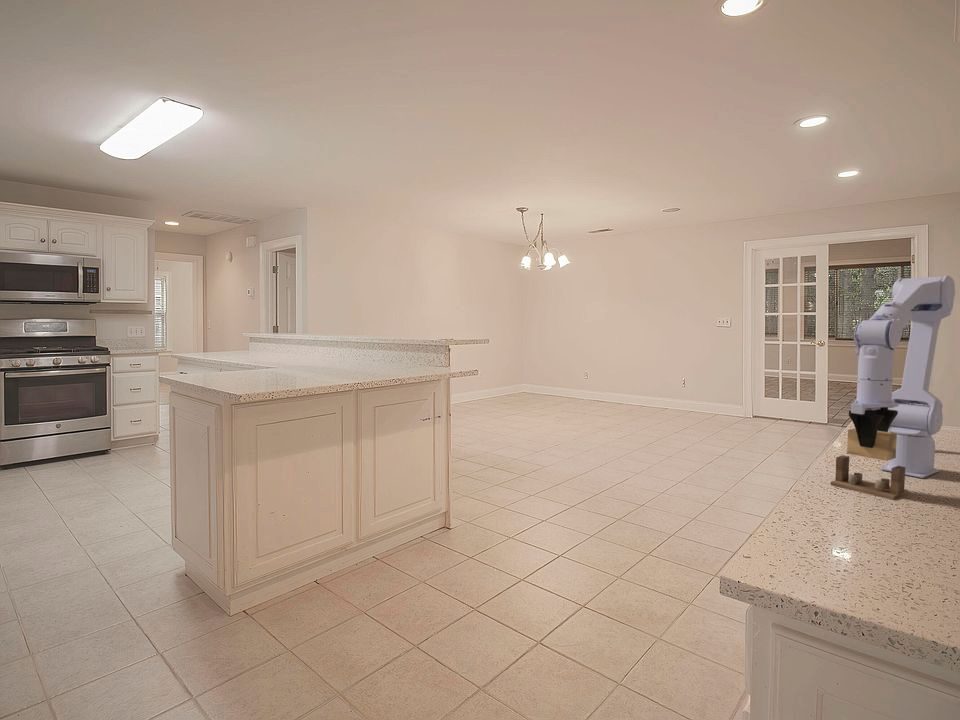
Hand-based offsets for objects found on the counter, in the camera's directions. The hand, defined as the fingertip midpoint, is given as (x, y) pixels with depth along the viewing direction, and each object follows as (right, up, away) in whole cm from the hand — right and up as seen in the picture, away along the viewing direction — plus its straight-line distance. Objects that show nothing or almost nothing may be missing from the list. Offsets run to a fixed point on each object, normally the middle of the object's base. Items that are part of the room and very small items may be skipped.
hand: (871, 445), depth 107 cm
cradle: (0, -9, 0) cm, 9 cm away
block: (0, -2, 0) cm, 2 cm away
